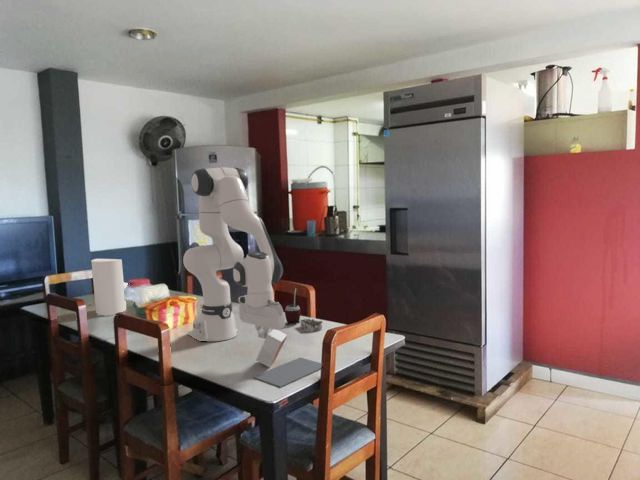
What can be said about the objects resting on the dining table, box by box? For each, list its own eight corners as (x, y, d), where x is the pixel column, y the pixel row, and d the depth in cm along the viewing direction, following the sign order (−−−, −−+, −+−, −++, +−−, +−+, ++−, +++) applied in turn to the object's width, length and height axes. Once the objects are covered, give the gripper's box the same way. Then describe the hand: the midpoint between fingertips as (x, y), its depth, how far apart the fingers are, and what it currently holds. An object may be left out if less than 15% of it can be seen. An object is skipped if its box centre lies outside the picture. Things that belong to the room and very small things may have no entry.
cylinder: (112, 317, 246) (107, 262, 243) (88, 314, 253) (83, 261, 250) (139, 308, 261) (134, 256, 258) (115, 306, 269) (111, 256, 266)
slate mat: (253, 377, 160) (253, 376, 160) (300, 358, 176) (300, 357, 176) (280, 387, 151) (280, 386, 151) (327, 366, 167) (327, 365, 167)
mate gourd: (288, 326, 217) (287, 293, 215) (282, 322, 224) (280, 290, 222) (304, 323, 220) (302, 291, 218) (297, 319, 227) (296, 287, 225)
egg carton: (323, 331, 209) (323, 321, 209) (307, 333, 206) (307, 324, 206) (315, 324, 219) (314, 315, 218) (299, 326, 216) (298, 317, 216)
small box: (269, 368, 168) (281, 342, 166) (255, 360, 169) (267, 334, 167) (276, 360, 176) (288, 334, 174) (262, 352, 176) (274, 327, 174)
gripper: (288, 300, 165) (290, 340, 167) (248, 294, 179) (251, 330, 181) (274, 304, 161) (276, 345, 162) (235, 297, 174) (237, 335, 176)
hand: (262, 337), depth 171 cm, fingers closed
